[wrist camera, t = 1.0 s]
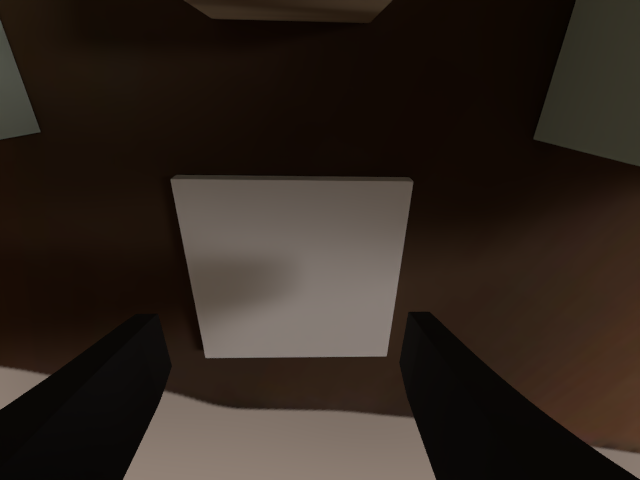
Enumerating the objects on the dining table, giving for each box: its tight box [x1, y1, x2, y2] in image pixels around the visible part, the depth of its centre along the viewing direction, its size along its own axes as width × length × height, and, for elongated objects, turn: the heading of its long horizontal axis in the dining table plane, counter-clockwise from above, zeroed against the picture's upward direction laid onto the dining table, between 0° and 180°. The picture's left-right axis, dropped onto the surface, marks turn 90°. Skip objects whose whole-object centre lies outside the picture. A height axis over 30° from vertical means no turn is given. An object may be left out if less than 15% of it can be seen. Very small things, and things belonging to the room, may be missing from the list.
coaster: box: [170, 175, 414, 358], centre depth 14 cm, size 9×9×1 cm
